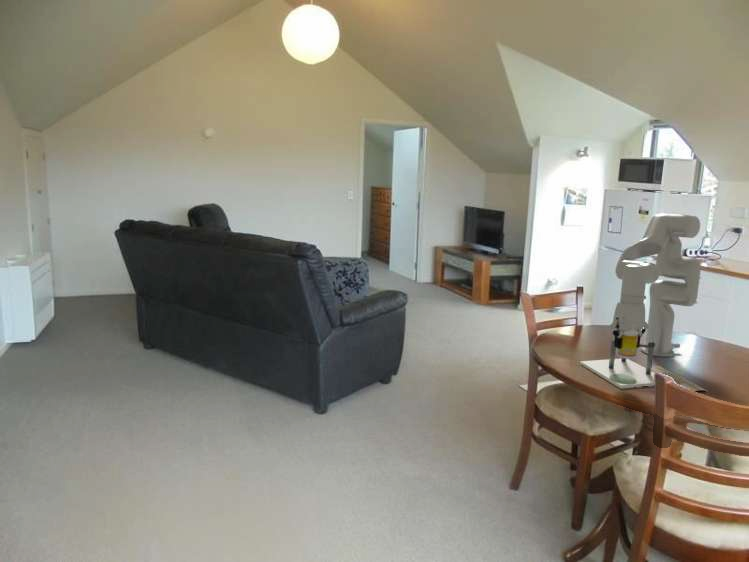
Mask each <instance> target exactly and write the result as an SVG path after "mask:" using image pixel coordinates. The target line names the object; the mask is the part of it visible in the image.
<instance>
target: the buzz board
mask: <svg viewBox="0 0 749 562" xmlns="http://www.w3.org/2000/svg"><path fill="white" fill-rule="evenodd" d="M609 359H610V358H609ZM609 359H597V360H596V359H595V360H594V359H592V360H581V361H579V362H580V363H579V364H580V366H582V365H583V366H582V367H583V368H586V369H588V370H589V371H591V372H592V373H593V374H595V373H596V375H598V376H599V377H600V378H602V379H604V380H606V381H607V382H609V383H610V384H612V385H614V386H616V387H617V388H618V389H622V390H623V389H632V388H634V387H636V388H643V387H642V386H648V387H655V386H654V374H655V373H654V372H653V371H651V375H647V374H645V373H646V366H642V365H641V364H639V363H638V362H634V361H632V359H626V362H622V361H621V358H615V361H614V369H609Z"/></svg>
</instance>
